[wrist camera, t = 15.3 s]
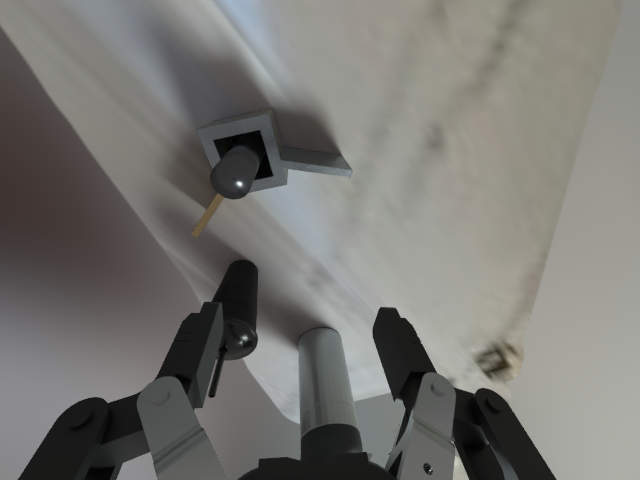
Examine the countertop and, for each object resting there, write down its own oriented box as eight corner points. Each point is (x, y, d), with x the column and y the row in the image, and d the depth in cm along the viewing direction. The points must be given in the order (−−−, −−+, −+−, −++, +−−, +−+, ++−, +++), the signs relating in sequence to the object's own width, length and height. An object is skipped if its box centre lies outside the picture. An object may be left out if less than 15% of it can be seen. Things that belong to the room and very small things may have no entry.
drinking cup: (214, 281, 43) (164, 410, 26) (226, 246, 40) (177, 368, 23) (258, 293, 45) (238, 418, 28) (272, 260, 42) (260, 380, 25)
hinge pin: (269, 155, 33) (256, 195, 21) (245, 160, 33) (219, 202, 21) (261, 129, 32) (243, 156, 20) (236, 134, 32) (203, 165, 20)
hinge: (346, 184, 36) (356, 204, 30) (208, 213, 37) (192, 239, 31) (333, 94, 30) (344, 97, 24) (169, 130, 31) (140, 141, 25)
